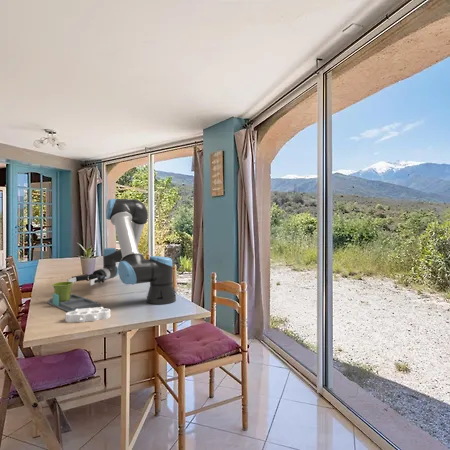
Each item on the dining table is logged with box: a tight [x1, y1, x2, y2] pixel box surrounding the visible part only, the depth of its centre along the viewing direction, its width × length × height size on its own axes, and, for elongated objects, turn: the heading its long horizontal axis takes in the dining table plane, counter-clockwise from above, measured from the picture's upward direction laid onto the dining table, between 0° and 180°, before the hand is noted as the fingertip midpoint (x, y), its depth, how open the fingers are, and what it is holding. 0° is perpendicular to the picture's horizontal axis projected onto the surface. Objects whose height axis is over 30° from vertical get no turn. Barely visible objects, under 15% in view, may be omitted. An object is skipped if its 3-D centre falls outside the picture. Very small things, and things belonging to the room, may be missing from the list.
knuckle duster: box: [64, 306, 111, 323], centre depth 142 cm, size 3×18×15 cm
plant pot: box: [52, 281, 74, 302], centre depth 169 cm, size 9×9×9 cm
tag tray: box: [46, 293, 102, 313], centre depth 163 cm, size 27×15×6 cm, turn 49°
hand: (78, 282), depth 177 cm, fingers open, 13 cm apart
